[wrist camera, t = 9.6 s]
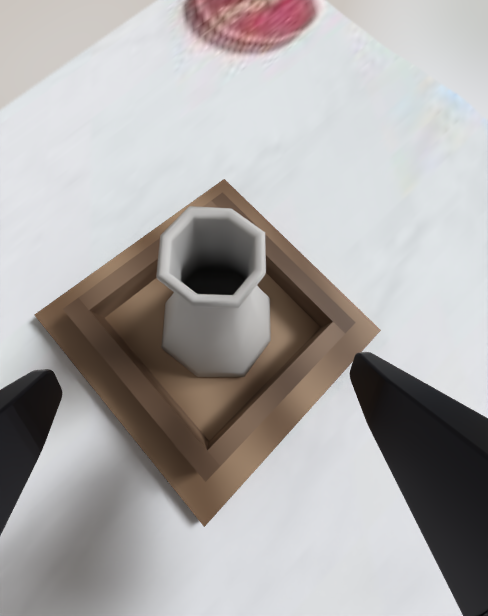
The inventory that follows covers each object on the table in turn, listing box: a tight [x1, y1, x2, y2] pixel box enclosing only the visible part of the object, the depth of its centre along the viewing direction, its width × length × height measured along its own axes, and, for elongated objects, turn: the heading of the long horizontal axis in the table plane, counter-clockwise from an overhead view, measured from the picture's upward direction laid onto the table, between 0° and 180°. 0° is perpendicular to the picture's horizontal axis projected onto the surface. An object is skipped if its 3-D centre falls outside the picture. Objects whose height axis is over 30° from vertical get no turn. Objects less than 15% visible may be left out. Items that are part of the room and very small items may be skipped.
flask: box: [156, 206, 271, 377], centre depth 12 cm, size 7×7×10 cm
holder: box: [35, 179, 381, 527], centre depth 16 cm, size 16×16×3 cm
